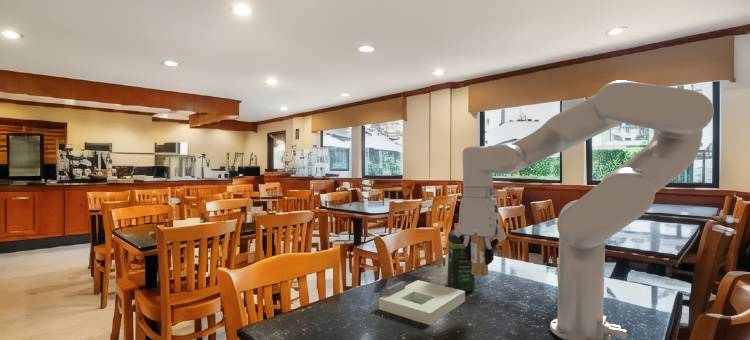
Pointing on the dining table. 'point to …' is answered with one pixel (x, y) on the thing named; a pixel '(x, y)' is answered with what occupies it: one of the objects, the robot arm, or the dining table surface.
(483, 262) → the sprinkles bottle
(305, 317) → the dining table surface
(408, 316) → the deck plate
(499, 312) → the dining table surface
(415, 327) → the dining table surface
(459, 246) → the coffee jar
